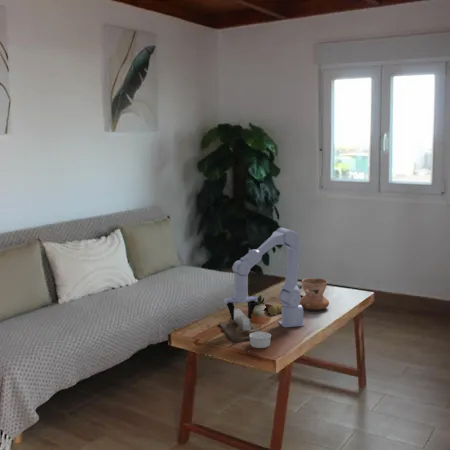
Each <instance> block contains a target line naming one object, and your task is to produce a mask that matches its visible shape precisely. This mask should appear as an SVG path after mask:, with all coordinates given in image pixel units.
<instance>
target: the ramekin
mask: <svg viewBox="0 0 450 450" xmlns="http://www.w3.org/2000/svg"><path fill="white" fill-rule="evenodd" d="M249 337H250V341H249V342H250V343H249V344H250V346H251V347H253V348H256V349H264V348H265V349H266V348H268V347H270V345H271V338H272V334H271V333H268V332H265V331H260V332H253V333H251V334H250V335H249Z"/></svg>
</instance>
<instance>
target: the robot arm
mask: <svg viewBox="0 0 450 450" xmlns="http://www.w3.org/2000/svg"><path fill="white" fill-rule="evenodd" d="M279 245H281V246H282V245H284V246H285V247H286V248H287V250H288V251H287V259H286V261H287V262H286V269H285V277H284V278H285V279H284V280H285V281H284V283H283V285H282V286H281V289H280V292H279V294H278V298H279V300H280V301H281V303H282V312H281V320H279V321H278V323H279V324H280V325H281V326H282V327H284V328H293V327H303V326H304V325H305V324H304V308H303V307H302V305H300V301H301V298H302V297H301V294H300V292H301V290H300V287H299V286H298V281H299V280H298V279H299V269H300V260H301V251H302V250H301V249H302V246H301V245H302V244H301V242H300V239H299V234H298V233H297V232H296V231H294V230H291V229H287V228H285V227H278V228H277V229H276V230H275V231H273V232H272V234H271V236H270V237H268V238H267V239H266V240H265V241H264V242H263V243H262V244H260V246H259V247H258V248H256V249H255V248H254V249H249V250H248V252H247V253H246V254H245V255H244V256H242V257H240V259H239V260H236V261H235V262H234V263H233V264H232V267H231V269H232V272H233V273H234V275H233V276H234V278H233V279H234V281H233V282H234V283H233V284H234V287H233V288H234V295H233V297H228V298H224V300H223V301H224V304H225V305H226V306H227V309H228V312H229V314H230V318H231V319H232V320H234V309H235V305H234V304H239V303H240V304H241V303H247V317H248V318H249V320H250V319H252V314H253V312H254V309H255V308H256V307H255V306H256V303H255V302H259V301H258V297H257V296H249V294H248V291H249V289H248V288H249V287H248V285H249V284H248V281H249V279H248V277H249V276H248V275H249V273H250V272H251V269H252V268H253V267H254V266H255V265H257V263H259V262H260V261H261V260H262V258H263V255H265V254H266V253H267V252H268V251H270V250H271V249H273V248H274V247H275V246H279Z"/></svg>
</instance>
